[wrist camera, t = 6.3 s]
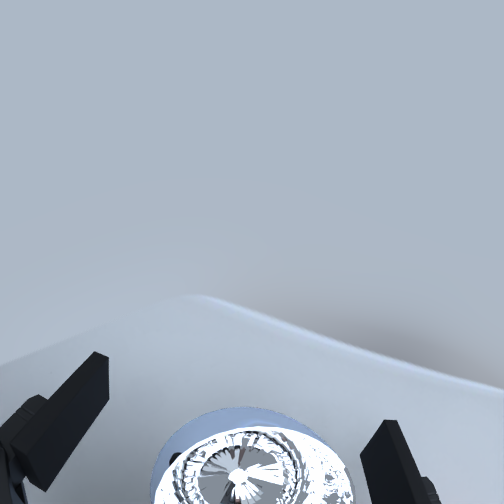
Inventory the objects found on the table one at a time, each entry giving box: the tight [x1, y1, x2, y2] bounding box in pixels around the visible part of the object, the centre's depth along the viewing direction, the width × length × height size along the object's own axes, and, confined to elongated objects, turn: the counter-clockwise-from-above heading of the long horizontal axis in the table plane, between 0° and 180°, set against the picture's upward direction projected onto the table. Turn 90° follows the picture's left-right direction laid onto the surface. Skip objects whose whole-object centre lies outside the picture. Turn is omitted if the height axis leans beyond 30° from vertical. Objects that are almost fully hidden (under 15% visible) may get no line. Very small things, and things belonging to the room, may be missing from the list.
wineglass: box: [150, 407, 356, 504], centre depth 10 cm, size 6×6×12 cm
